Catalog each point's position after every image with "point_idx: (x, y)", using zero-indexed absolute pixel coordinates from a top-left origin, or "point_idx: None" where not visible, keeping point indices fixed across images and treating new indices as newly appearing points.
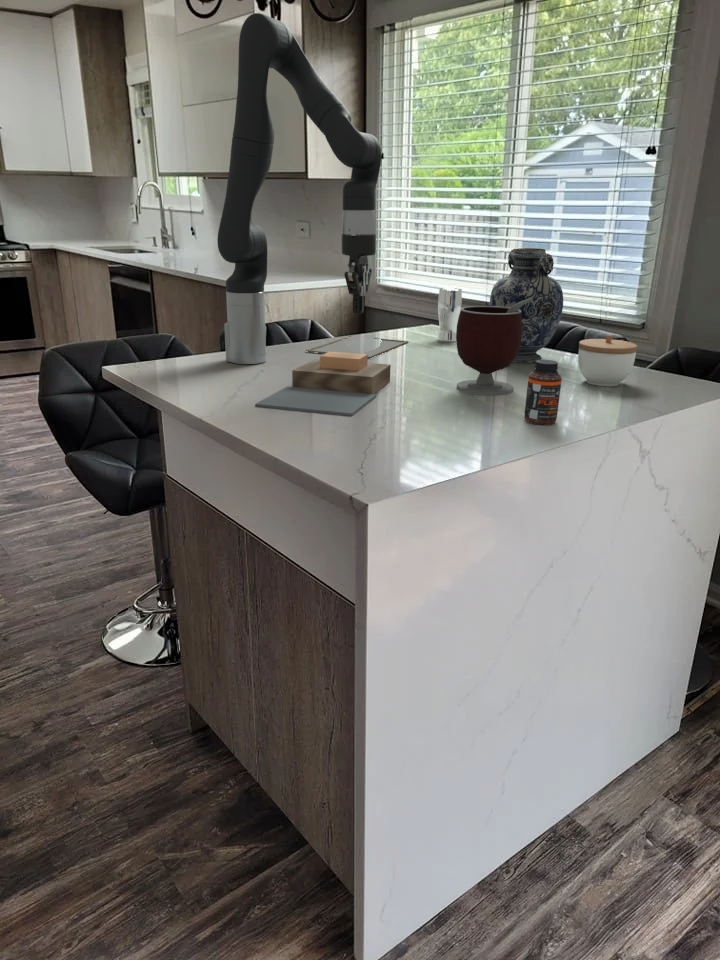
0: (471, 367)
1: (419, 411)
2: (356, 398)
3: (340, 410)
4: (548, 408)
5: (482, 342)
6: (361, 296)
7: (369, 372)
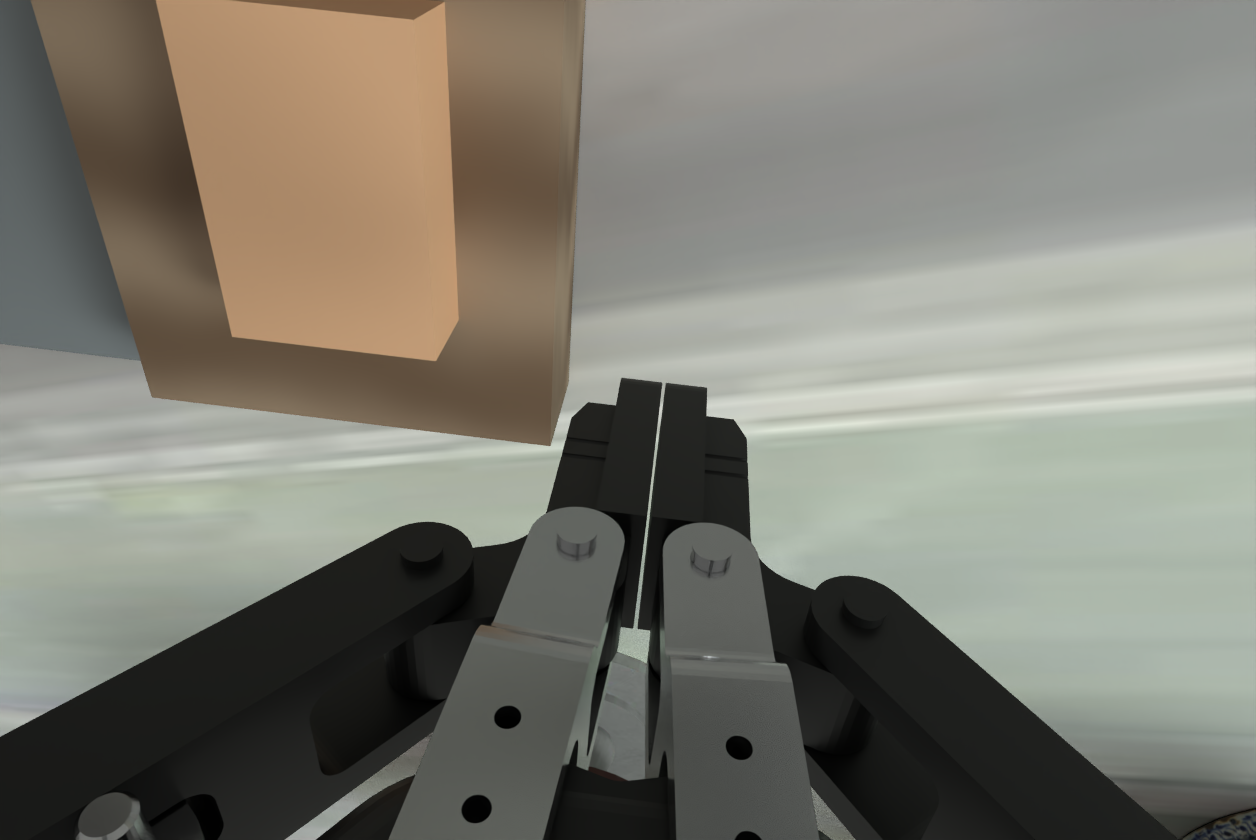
0: None
1: (90, 540)
2: (55, 289)
3: None
4: None
5: None
6: (627, 611)
7: (257, 363)
